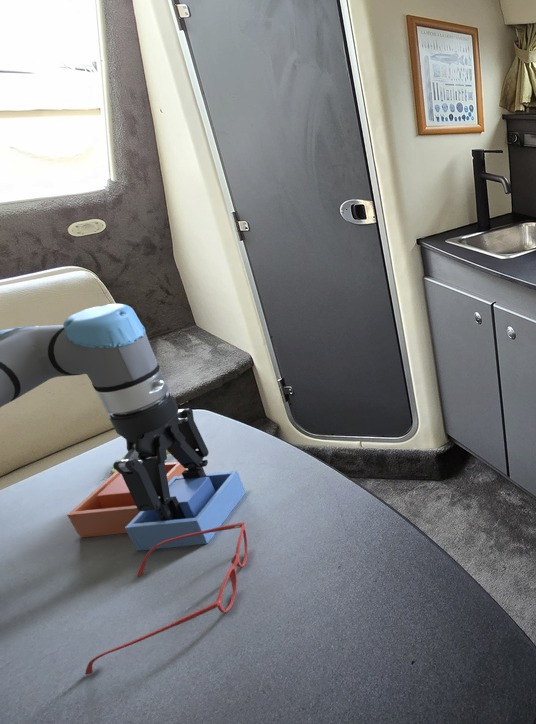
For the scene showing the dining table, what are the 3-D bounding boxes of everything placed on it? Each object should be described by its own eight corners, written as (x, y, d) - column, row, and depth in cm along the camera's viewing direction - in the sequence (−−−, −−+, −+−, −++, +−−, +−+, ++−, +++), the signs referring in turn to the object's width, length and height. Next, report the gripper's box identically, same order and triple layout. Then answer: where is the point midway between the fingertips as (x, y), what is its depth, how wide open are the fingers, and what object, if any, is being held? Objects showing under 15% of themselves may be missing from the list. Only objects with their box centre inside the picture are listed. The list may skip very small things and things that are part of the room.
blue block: (164, 530, 82) (151, 505, 80) (187, 503, 87) (175, 479, 85) (198, 526, 82) (187, 501, 80) (219, 500, 87) (209, 476, 85)
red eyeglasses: (230, 633, 67) (218, 608, 65) (80, 686, 62) (62, 661, 60) (260, 533, 82) (251, 510, 80) (141, 568, 77) (128, 545, 75)
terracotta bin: (80, 537, 83) (66, 515, 81) (131, 487, 93) (120, 466, 91) (148, 530, 83) (136, 508, 81) (192, 482, 93) (182, 461, 92)
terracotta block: (109, 520, 85) (96, 495, 83) (134, 495, 90) (122, 471, 88) (143, 516, 85) (130, 492, 83) (166, 492, 91) (154, 468, 89)
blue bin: (137, 551, 80) (124, 527, 78) (183, 498, 90) (173, 476, 88) (207, 543, 80) (196, 520, 79) (246, 492, 91) (237, 470, 89)
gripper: (116, 439, 68) (177, 559, 76) (204, 366, 85) (246, 471, 93) (57, 444, 67) (126, 565, 76) (158, 370, 84) (204, 475, 93)
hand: (192, 513), depth 85 cm, fingers closed on blue block, 5 cm apart
